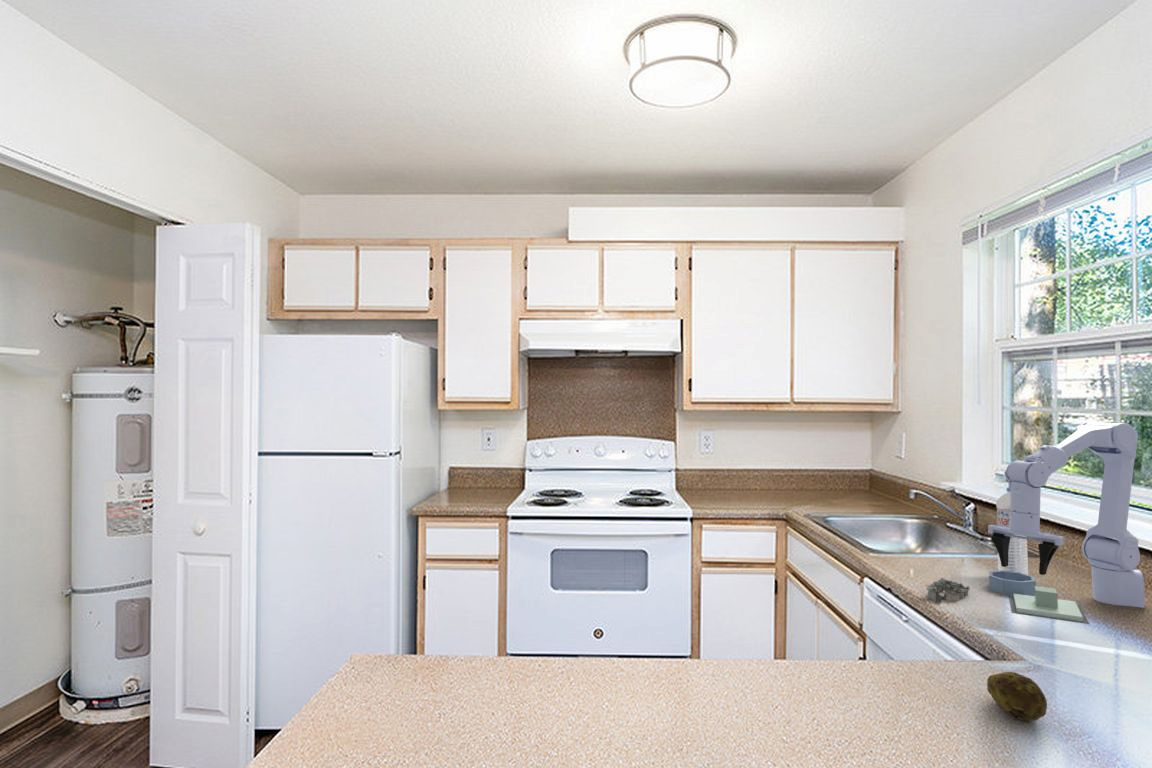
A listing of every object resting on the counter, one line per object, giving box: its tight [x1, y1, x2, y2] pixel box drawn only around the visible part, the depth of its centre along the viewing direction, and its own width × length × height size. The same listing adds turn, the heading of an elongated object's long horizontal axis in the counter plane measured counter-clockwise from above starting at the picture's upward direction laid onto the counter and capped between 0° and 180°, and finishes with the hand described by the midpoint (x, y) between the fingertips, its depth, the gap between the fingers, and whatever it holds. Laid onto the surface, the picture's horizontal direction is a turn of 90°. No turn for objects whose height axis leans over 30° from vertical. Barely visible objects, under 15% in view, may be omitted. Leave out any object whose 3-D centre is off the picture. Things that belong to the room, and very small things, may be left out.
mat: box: [1008, 595, 1090, 625], centre depth 146 cm, size 14×14×1 cm
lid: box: [1013, 585, 1083, 621], centre depth 146 cm, size 12×12×4 cm
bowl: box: [988, 570, 1037, 596], centre depth 160 cm, size 10×10×4 cm
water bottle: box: [995, 487, 1029, 575], centre depth 173 cm, size 7×7×25 cm
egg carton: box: [925, 577, 971, 602], centre depth 157 cm, size 11×8×4 cm
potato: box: [986, 671, 1048, 723], centre depth 99 cm, size 8×13×8 cm, turn 141°
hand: (1023, 570), depth 146 cm, fingers open, 7 cm apart
